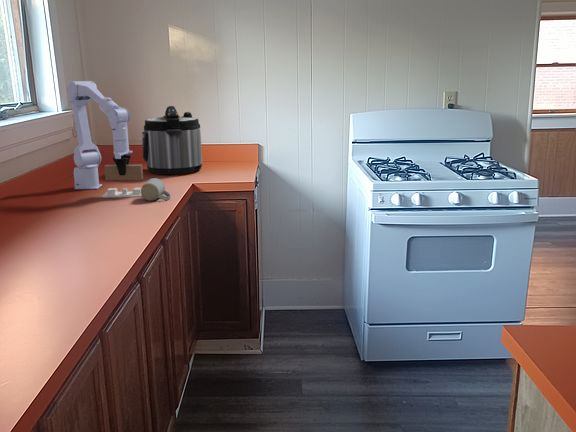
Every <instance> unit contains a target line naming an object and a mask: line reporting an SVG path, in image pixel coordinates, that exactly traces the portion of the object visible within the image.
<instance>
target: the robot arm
mask: <svg viewBox="0 0 576 432" xmlns="http://www.w3.org/2000/svg"><path fill="white" fill-rule="evenodd" d="M66 91H67V97H68V101H69V103H71V109H72V115H73V119H74V125H75V131H76V136H77V142H78V145H77V146H76V147H75V148H74V149H73V161H74V165H76V166H77V167H74V168H73V180H74V190H98V189H99V188H101V187H102V186H103V184H101V183H100V180H99V179H100V177H99V171H98V170H99V166H100V164H101V162H102V154H101V152H100V150H99V147H98V146H97V145H96V144H94V143H93V141H92V136H91V130H90V124H89V119H88V113H87V108H86V105H87V103H88V102H90V101H91V100H92V101H94V102H95V103H97V104H98V108H99V110H100V111H102V113H104V115H106V116H107V120H108V122H109V127H110V128H111V130H112V131H111V132H112V144H113V154H114V156H113V157H112V161H113V162H114V163H115V164H114V165H116V166H117V169H118V172H119V175H125V174H126V165H130V162H131V161H130V160H131V158H132V155H131V154H132V153H133V150H130V146H129V145H130V144H129V131H128V129H129V128H128V123H130V122H129V121H130V119H131V117H130V116H131V115H130V112H129V110H128V108H127V107H121V106H120V105H118V104H117V103H116V102H115V101H113V98H111V97H105V96H104V95H103V94H102V93H101V91H100V90H99V89H98V86H97V84H96V83H95V82H94V81H93V80H84V81H83V80H78V81H77V80H70V81H69V82H68V85H67V87H66Z"/></svg>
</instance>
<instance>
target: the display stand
mask: <svg viewBox="0 0 576 432" xmlns="http://www.w3.org/2000/svg"><path fill="white" fill-rule="evenodd" d="M141 188H142V187H134V188H133V189H132V191H129V190H128V188H127V187H124V188H122V189H121V191H118V187H109V188H107V189H106V192H105V193H104V194H103V195H102V196H101V198H102V199H103V198H143V197H142V195H141Z"/></svg>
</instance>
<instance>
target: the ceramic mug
mask: <svg viewBox="0 0 576 432" xmlns="http://www.w3.org/2000/svg"><path fill="white" fill-rule="evenodd" d="M140 188H141V195H142V197H141V198H143V199H144V200H145V201H149V202H152V201H156V200H158V199H160V200H164V201H169V200H170V199H171V197H172V195H171V194H170V193H169V192H168V191H166V185H165V184H164V182H163V181H162V179H159V178H157V177H156V178H155V177H154V178H150V179H148V180H147V181H145V183H144V184H143V185H142V186H141V187H140Z"/></svg>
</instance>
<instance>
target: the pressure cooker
mask: <svg viewBox="0 0 576 432" xmlns="http://www.w3.org/2000/svg"><path fill="white" fill-rule="evenodd" d="M199 121H200V120H199V118H195V117H193V115H192V113H191V112H190V111H185V112H184V113H183V115H182V116H180V115H179V114H178V112H177V109H176V107H175V106H173V105H168V106H167V107H166V109H165V113H164V115H163V116H159V117H153V118H147V119H145V120H144V125H143V131H142V132H141V134H142V137H141V138H142V143H141V144H142V159H143V161H144V162H146V168H147V170H148V172H150V173H152V174H158V175H175V174H188V173H189V174H190V173H194V172H197V171H201V169H202V166H203V151H202V134H201V133H202V131H201V124H200V123H199Z"/></svg>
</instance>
